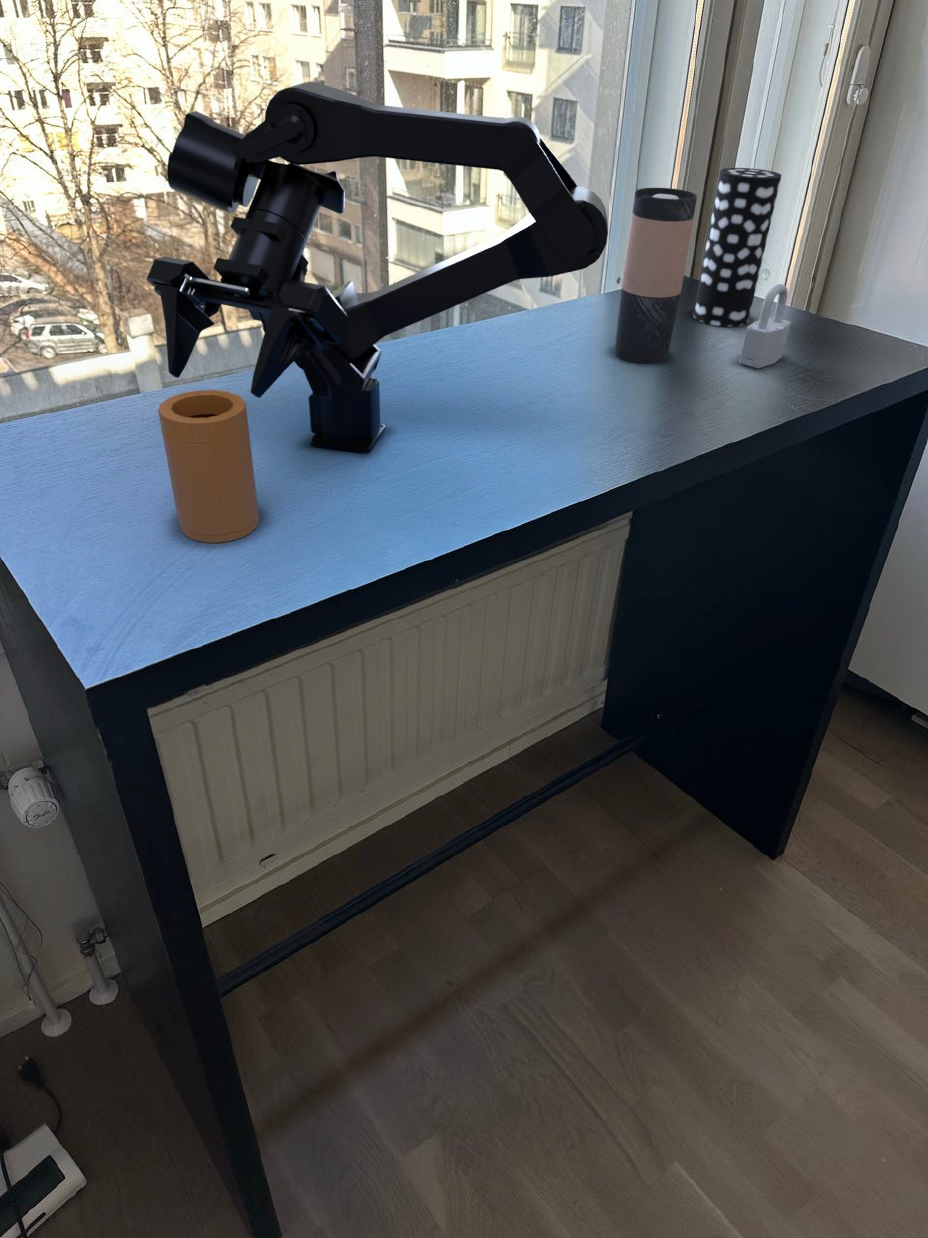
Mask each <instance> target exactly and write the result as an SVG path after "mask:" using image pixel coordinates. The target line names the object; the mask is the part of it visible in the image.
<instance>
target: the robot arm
mask: <svg viewBox="0 0 928 1238" xmlns="http://www.w3.org/2000/svg"><path fill="white" fill-rule="evenodd" d="M540 134H541V133H540V131H539V129H538V127H537V126H536V124H535V123H534V122H533V121H532V120H530V119H529V118H526V117H523V116H513V117H508V118H506V117H496V116H487V115H479V114H470V113H469V114H467V113H459V112H451V111H439V110H430V109H422V108H421V109H420V108H411V107H401V106H392V105H383V104H381V103H380V104H379V103H377V102H374V101H370V100H368V99H366V98H364V97H361V96H359V95H356V94H354V93H352V92H349V91H345V90H342V89H339V88H335V87H332V86H329V85H327V84H323V83H320V82H315V81H308V82H302V83H299V84H296V85H292V86H288V87H285V88H283V89H280V90H278V91H277V92H276V93H275V94H274V95H273V97H271V99H269V101H268V103H267V106H266V109H265V112H264V120H263V121H262V122H261V123H260V124H259V125H257V126H256V127H255V128H253V129H251V130H248V131H247V132H245V134H244V133H242V132H240V131H237V130H235V129H232V128H230V127H229V126H226V125H224V124H222V123H218V122H217V121H215V120H214V119H212V118H211V117H210V116H208V115H206V114H203V113H201V112H199V111H197V110H195V111H191V112H188V113H186V114H185V116H184V122H183V127H182V128H181V129H180V131H179V133H178V135H177V137H176V139H175V142H174V144H173V147H172V151H171V152H170V153H169V155H168V158H167V159H168V160H167V168H166V174H167V176H166V177H167V183H168V186H169V188H170V189H171V190H174V191H175V192H179V193H180V194H183V195H185V196H188V197H190V198H192V199H195V200H197V201H200V202H201V203H204V204H206V205H209V206H212V207H213V208H216V209H218V210H221V211H224V212H226V213H227V214H235V212H236V211H237V210H238V208H239V207H240V206H241V207H243V208H247V207H248V206H249V207H248V209H247V212H246V214H245V217H241V216H233V218H232V220H231V224H230V226H229V227H230V228H231V229H232V231H233V232H234V233H235V234H236V235H237V236H236V238H235V241H234V243H233V246H232V248H231V251H230V253H229V256H228V258H227V259H226V258H221V257H217V258H216V259H215V262H214V265H213V269H214V270H215V272H217V274H219V276H220V281H219V280H216V279H215V280H214V279H211V278H210V277H209V275H207V274H206V273H205V272H204V271H203V270H202V269H201V268H200V267H199V266H198V265H197V264H196V263H195V261H192V260H187V259H181V258H175V257H171V256H165V255H164V256H161V257H157V258H154V260H153V262H152V265H151V267H150V269H149V272H148V274H147V276H146V281H147V282H148V283H149V284H150V285H151V286H153V292H155V293H156V295H158V296H159V297H160V301H161V308H162V312H163V318H164V327H165V339H166V341H165V342H166V353H167V354H166V355H167V369H168V373H169V375H171V376H172V377H173V378H177V379H179V378H180V376H181V375H182V373H183V372H184V370H185V368H186V367H187V364H188V362H189V360H190V357H191V355H192V353H193V351H194V348H195V347H196V345H197V342H198V340H199V337H200V335H201V333H202V332H203V331H204V330H207V329H208V328H211V327H213V326H215V323H216V322H215V321H213V320H212V318H211V317H212V316H214V315H216V314H217V313H219V310H220V307H221V306H227V307H232V308H237V309H243V310H248V312H249V314H250V316H251V319H252V320H254V321H259V322H261V324H262V331H263V333H264V334H263V338H262V341H261V344H260V348H259V352H258V356H257V359H256V364H255V367H254V371H253V375H252V379H251V387H250V393H251V395H252V396H253V397H255V398H257V399H260V398H262V396H263V395H264V394H265V393H266V392H267V391H268V390H269V389H270V387H272V386H273V384H275V382H276V381H277V380H278V379H279V378H280V377H281V376H282V375H283V373H284V372H285V371H287V369H288V368H289V367H290V366H291V365H292V364H293V363H295V364H296V366H297V367H298V368H299V369H300V370H302V371H303V373H304V375H305V378H306V380H307V382H308V385H309V387H310V389H311V393H310V394H309V396H308V409H309V411H308V412H309V424H310V432H311V433H312V434H313V435H312V436H311V437H310V439H309V445H310V446H313V447H320V448H327V449H334V450H341V451H348V452H349V451H350V452H357V453H370V452H371V450H372V449H373V448H374V446H375V444H376V443H377V442H378V441H379V439H380V438H381V437H382V435H383V434H384V433H385V431H386V425H385V424H382V423H381V397H380V393H381V391H380V379H378V378H372V377H371V376H372V375H373V374H374V371H376V369H377V368H378V365H379V362H380V359H381V356H382V350H381V349H380V348H379V347H378V346H377V345H376V344H377V343H378V342H379V341H380V340H382V339H383V338H385V337H386V336H388V335H391V334H393V333H395V332H398V331H400V330H402V329H404V328H407V327H409V326H412V325H414V324H417V323H419V322H421V321H423V320H426V319H429V318H430V317H433V316H436V315H438V314H440V313H442V312H445V311H447V310H449V309H452V308H455V307H456V306H459V305H461V304H464V303H466V302H469V301H470V300H472V299H473V300H474V299H475V298H478V297H480V296H482V295H484V294H487V293H489V292H491V291H494V290H496V289H499V288H501V287H503V286H505V285H508V284H510V283H512V282H514V281H515V282H516V281H519V280H528V279H541V278H551V277H555V276H558V275H559V276H560V275H564V274H568V273H571V272H576V271H581V270H584V269H587V268H588V267H590V266H591V265H593V264H595V263H596V262H597V261H598V260H599V259H600V258H601V255H602V254H603V252H604V250H605V248H606V246H607V242H608V235H609V230H608V228H609V227H608V226H609V225H608V215H607V209H606V206H605V204H604V202H603V200H602V199H601V198H600V196H599V195H597V193H595V192H594V191H592V190H590V189H588V188H586V187H583V186H579V185H578V184H577V183H576V181H575V180H574V178H573V177H572V175H571V174H570V173H569V171H568V170H567V168H566V167H565V166H564V165H563V163H562V162H561V161H560V159H559V158H558V157H557V156H556V155H555V154H554V152H553V151H552V149H550V147H549V146H548V145H547V143H546V142H545V140H544V139H543V138H542V136H541V135H540ZM372 157H374V158H384V159H394V160H403V161H411V162H412V161H413V162H422V163H431V164H439V165H440V164H441V165H448V166H459V167H468V168H477V169H486V170H487V169H488V170H494V171H495V170H496V171H500V172H503V173H504V175H505V176H506V177H507V179H508V180H509V181H510V183H511V184H512V186H513V188H514V189H515V191H516V193H517V195H518V196H519V198H520V200H521V201H522V203H523V204H524V206H525V208H526V210H527V211H528V213H529V214H527V215H526V216H524V217H523V218H522V219H521V220H520V221H519V222H517V223H516V224H515V225H513V226H512V227H511V228H510V229H508V230H507V231H506V232H504V233H503V234H500V235H498V236H496V237H494V238H492V239H489V240H487V241H485V242H482V243H481V244H478V245H476V246H474V247H472V248H470V249H467V250H465V251H463V252H460V253H458V254H455V255H454V256H451V257H449V258H447V259H445V260H443V261H440V262H438V263H436V264H434V265H432V266H429V267H427V268H424V269H422V270H421V271H418V272H416V273H414V274H412V275H409V276H407V277H405V278H402V279H401V280H398V281H396V282H393V283H391V284H389V285H387V286H385V287H382V288H380V289H378V290H375V291H370V292H360V293H357V292H356V289H355V286H354V283H353V281H352V280H348V281H347V282H345V283H344V284H343V285H341V286H339V288H337V289H335V290H333V291H329V289H328V288H327V286H326V285H324V284H323V285H322V284H317V283H312V282H307V281H306V275H307V273H308V271H309V270H308V266H309V263H310V262H309V261H308V259H307V258H306V257H305V255H304V254H303V253H304V251H305V248H306V245H307V243H308V241H309V238H310V235H312V234H311V233H312V230H313V228H314V226H315V224H316V222H317V219H318V216H319V213H320V211H321V208H325V209H327V210H329V211H332V212H334V213H336V214H338V215H343V214H344V212H345V189H344V187H343V186H342V184H341V182H340V181H339V179H338V172H337V171H335V170H332V171H329V172H327V173H326V172H318V171H315V170H313V169H310V168H308V167H305V166H306V165H317V164H326V163H328V164H329V163H336V162H337V163H338V162H343V161H348V160H355V159H362V158H363V159H364V158H372ZM277 158H280V159H282V160H283V161H285V162H287V163H282V162H277V161H272V160H273V159H277ZM304 165H305V166H304ZM259 180H260V181H259Z"/></svg>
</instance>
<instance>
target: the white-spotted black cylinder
mask: <svg viewBox="0 0 928 1238" xmlns="http://www.w3.org/2000/svg"><path fill="white" fill-rule="evenodd" d="M782 176H783V175H782V174H781V173H779V172H776V171H772V170H766V169H761V168H760V169H759V168H751V167H725V168H722V169H720V171H719V176H718V179H717V187H716V190H715V197H714V202H713V207H712V212H711V217H710V222H709V228H708V233H707V238H706V244H705V248H704V254H703V255H704V256H703V259H702V265H701V270H700V274H699V280H698V286H697V292H696V296H695V301H694V307H693V311H692V317H693V318H694V319H695V320H696V321H699V322H700V323H703V324H707V325H711V326H716V327H725V328H726V327H727V328H728V327H729V328H730V327H732V328H733V327H741V326H746V325H747V324H748V323H749V321H750V320H749V319H750V316H751V311H752V307H753V303H754V298H755V294H756V290H757V284H758V280H759V276H760V272H761V267H762V262H763V258H764V254H765V249H766V245H767V241H768V237H769V233H770V228H771V225H772V219H773V215H774V210H775V207H776V202H777V197H778V193H779V189H780V185H781V179H782Z"/></svg>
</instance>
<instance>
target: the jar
mask: <svg viewBox="0 0 928 1238" xmlns="http://www.w3.org/2000/svg"><path fill="white" fill-rule="evenodd" d="M157 412H158V416H159V417H158V418H159V423H160V427H161V433H162V439H163V443H164V444H163V445H164V450H165V456H166V462H167V466H168V473H169V478H170V483H171V489H172V494H173V499H174V506H175V511H176V515H177V521H178V523H179V529H180V531H181V533H182V534H183V535H184V536H185V537H187V538H189V539H190V540H193V541H196V542H201V543H207V544H220V543H228V542H233V541H236V540H239V539H243V538H244V537H246V536H248V535H249V534H252V533H253V531H255V530H256V529H257V528H258V525H259V523H260V518H259V517H260V516H259V505H258V496H257V488H256V480H255V478H256V477H255V470H254V462H253V455H252V454H253V453H252V446H251V437H250V428H249V419H248V410H247V403H246V401H245V400H244V399H243V398H242V397H241V396H240V395H238V394H235V393H232V392H229V391H224V390H217V389H207V390H205V389H203V390H192V391H187V392H182V393H179V394H175V395H173V396H170V397H168V398H166V399H165V400H164V401H162V402H161V403H160V404H159V406H158V411H157Z"/></svg>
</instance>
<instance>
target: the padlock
mask: <svg viewBox="0 0 928 1238" xmlns="http://www.w3.org/2000/svg"><path fill="white" fill-rule="evenodd" d="M788 295H789V291H788V288H787V286H786V284H782V283H778V284H776V285H774V286H772V287H771V288H770V289H769V290H768V292H767V293H766V295H765V297H764V299H763V303H762V307H761V310H760V314H759V318H758V320H755V321H754V322H752V323H751V324H750V325H748V326H747V327H746V330H745V335H744V339H743V343H742V347H741V351H740V356H739V361H738V364H740V365H745V366H748V367H752V368H755V369H757V370H759V369H761V368H765V367H768V366H771V365H774V364H776V363H777V362H778V361H779V360H781V358H783V357H784V352H785V348H786V344H787V340H788V337H789V333H790V329H791V324H792V321H790V320H785V319H783V317H784V312H785V309H786V304H787V300H788ZM776 297H777V301H776V305H775V310H774V314H773V316H770V314H771V310H772V306H773V304H774V301H775V299H776Z"/></svg>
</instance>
